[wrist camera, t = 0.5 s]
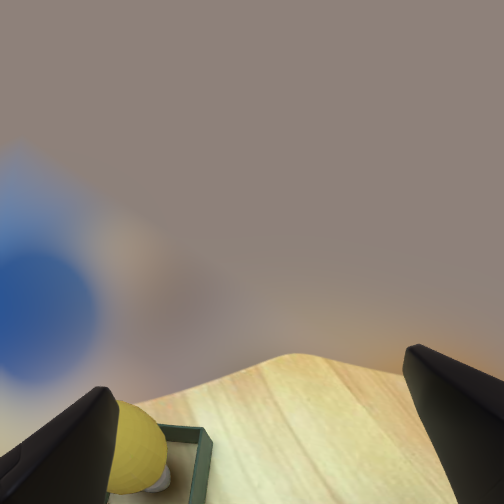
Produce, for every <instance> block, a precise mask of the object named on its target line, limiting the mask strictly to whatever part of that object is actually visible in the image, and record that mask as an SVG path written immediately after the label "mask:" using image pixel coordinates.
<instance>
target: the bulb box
mask: <svg viewBox="0 0 504 504" xmlns="http://www.w3.org/2000/svg"><path fill="white" fill-rule="evenodd" d="M157 425H158V426H159V428H160V429H161V431H162V432H163V434H164V435H165V439H166V440H167V441H176V442H186V443H198V448H197V454H196V460H195V466H194V472H193V478H192V484H191V491H190V497H189V504H205V498H206V490H207V483H208V476H209V468H210V461H211V454H212V446H213V442H212V440H211V439H210V437H209V436H208V434H207V432H206V431H205V429H204V428H203V427H188V426H176V425H165V424H157ZM109 494H110V492H107V493H106V499H105V504H107V501H108V497H109Z"/></svg>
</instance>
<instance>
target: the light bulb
mask: <svg viewBox="0 0 504 504" xmlns="http://www.w3.org/2000/svg"><path fill="white" fill-rule="evenodd" d="M116 401H117V403H118V405H119V409H120V413H119V420H118V428H117V437H116V446H115V452H114V458H113V462H112V467H111V472H110V477H109V482H108V488H107V492H110V493H114V494H119V495H123V494H131V493H137V492H139V491H142V490H143V491H146V492H152V493H153V492H159V491H163V490H165V489H166V488H167V487H168V486H169V484H170V481H171V478H170V470H169V468H168V466H167V465H166V459H167V450H168V448H167V444H166V439H165V435H164V434H163V432H162V431H161V429H160V428H159V426H158V425H157V423H156V421H155V420H154V419H153V418H152V417H151V416H149V415H148V414H147V413H146V412H144V411H143V410H142V409H140V408H139V407H137V406H134V405H132V404H129V403H126V402H123V401H119V400H116Z"/></svg>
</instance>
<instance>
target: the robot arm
mask: <svg viewBox="0 0 504 504" xmlns="http://www.w3.org/2000/svg"><path fill="white" fill-rule="evenodd" d="M403 375H404V378H405V380H406V383H407V386H408V388H409V391H410V394H411V396H412V399H413V402H414V405H415V407H416V410H417V413H418V415H419V417H420V419H421V421H422V423H423V425H424V427H425V430H426V432H427V434H428V436H429V438H430V440H431V442H432V444H433V446H434V448H435V451H436V453H437V455H438V457H439V459H440V462H441V464H442V466H443V468H444V471H445V473H446V475H447V478H448V480H449V482H450V485H451V487H452V489H453V492H454V494H455V497H456V499H457V502H458V504H504V381H502V380H499V379H497V378H495V377H493V376H491V375H488V374H486V373H484V372H481V371H479V370H477V369H474V368H472V367H470V366H468V365H466V364H463V363H461V362H459V361H457V360H454V359H452V358H450V357H448V356H445V355H443V354H441V353H439V352H437V351H434V350H432V349H430V348H428V347H425V346H423V345H421V344H416V345H413V346H410V347H408V348H407V349H406V352H405V357H404V363H403ZM119 413H120V409H119V405H118V403H117V401H116V400H115V398H114V396H113V394H112V393H111V391H110V390H109V388H108V387H99V386H98V387H95V388H93V389H92V390H91V391H89V392H88V393H87V394H85V395H84V396H83V397H81V398H80V399H79V400H77V401H76V402H75V403H74V404H72V405H71V406H70V407H68V408H67V409H66V410H64V411H63V412H62V413H60V414H59V415H58V416H56V417H55V418H54V419H52V420H51V421H50V422H48V423H47V424H46V425H44V426H43V427H42V428H40V429H39V430H38V431H36V432H35V433H34V434H32V435H31V436H30V437H28V438H27V439H26V440H24V441H23V442H22V443H20V444H19V445H17V446H16V447H15V448H13V449H12V450H11V451H9V452H8V453H6V454H5V455H3V456H2V457H0V504H105V499H106V493H107V488H108V482H109V477H110V472H111V467H112V462H113V458H114V452H115V446H116V437H117V428H118V420H119Z"/></svg>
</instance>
